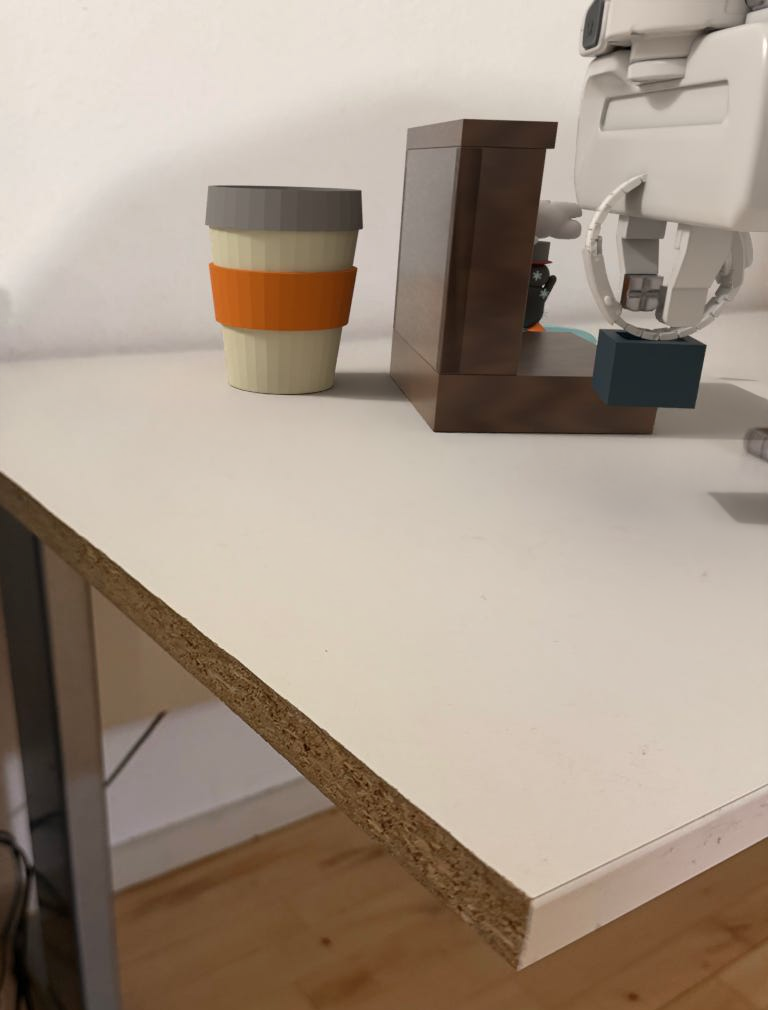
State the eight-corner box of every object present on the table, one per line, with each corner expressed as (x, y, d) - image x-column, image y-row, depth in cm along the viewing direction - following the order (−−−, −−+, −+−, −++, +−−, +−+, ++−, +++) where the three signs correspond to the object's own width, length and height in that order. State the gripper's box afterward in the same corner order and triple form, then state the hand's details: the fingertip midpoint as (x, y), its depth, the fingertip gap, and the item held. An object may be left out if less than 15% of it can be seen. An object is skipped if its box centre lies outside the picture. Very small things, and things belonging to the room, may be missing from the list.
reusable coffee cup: (378, 394, 78) (392, 192, 71) (231, 402, 74) (231, 189, 67) (321, 365, 88) (328, 186, 81) (190, 371, 84) (186, 184, 77)
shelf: (563, 377, 86) (601, 134, 77) (652, 434, 68) (714, 126, 60) (389, 375, 85) (407, 128, 76) (433, 431, 67) (463, 118, 59)
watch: (735, 410, 48) (786, 166, 43) (571, 404, 49) (604, 165, 44) (706, 390, 53) (749, 170, 48) (558, 385, 54) (586, 168, 49)
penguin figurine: (591, 348, 101) (617, 190, 94) (599, 367, 91) (629, 192, 84) (403, 337, 104) (415, 183, 97) (392, 353, 95) (404, 185, 88)
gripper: (933, -47, 34) (829, 354, 40) (683, 24, 52) (638, 292, 58) (761, -51, 33) (683, 354, 40) (570, 22, 51) (537, 292, 58)
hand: (655, 317), depth 49 cm, fingers closed on watch, 4 cm apart
